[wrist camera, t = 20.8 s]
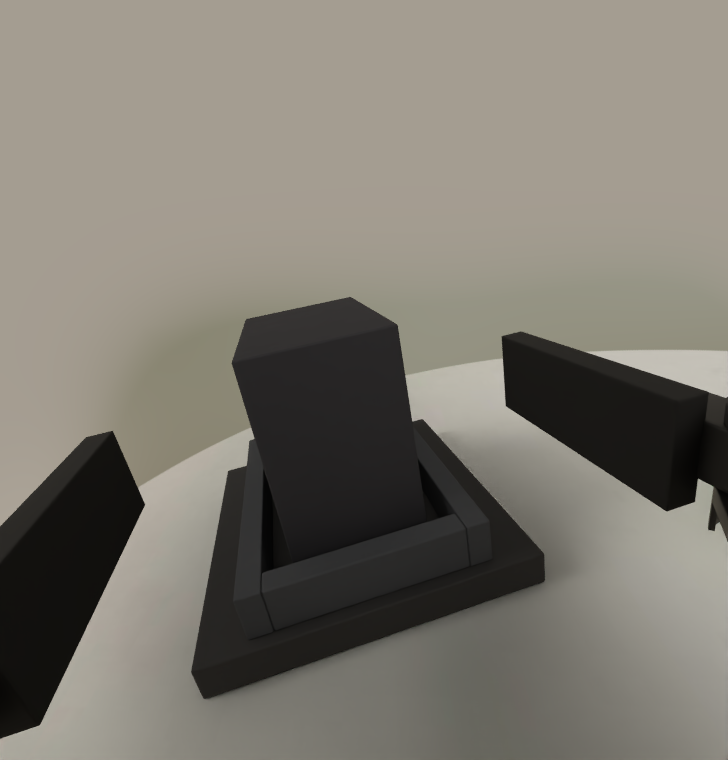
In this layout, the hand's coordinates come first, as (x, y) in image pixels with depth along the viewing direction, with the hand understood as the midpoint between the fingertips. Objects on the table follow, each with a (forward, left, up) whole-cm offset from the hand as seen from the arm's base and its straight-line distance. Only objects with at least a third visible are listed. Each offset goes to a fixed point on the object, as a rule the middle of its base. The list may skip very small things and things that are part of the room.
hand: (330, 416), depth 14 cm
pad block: (-3, +5, -8) cm, 10 cm away
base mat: (-3, +5, -9) cm, 11 cm away
